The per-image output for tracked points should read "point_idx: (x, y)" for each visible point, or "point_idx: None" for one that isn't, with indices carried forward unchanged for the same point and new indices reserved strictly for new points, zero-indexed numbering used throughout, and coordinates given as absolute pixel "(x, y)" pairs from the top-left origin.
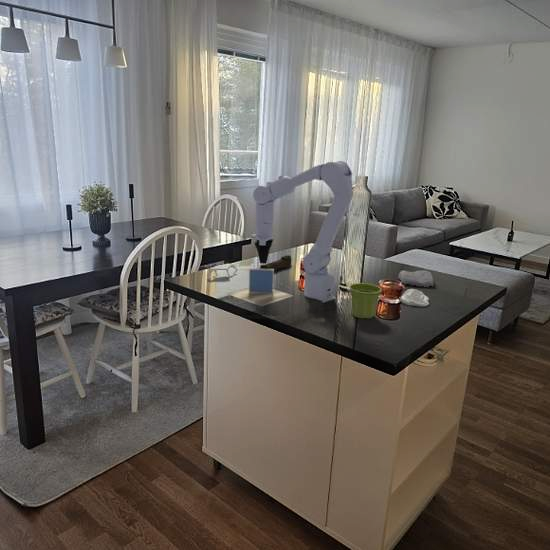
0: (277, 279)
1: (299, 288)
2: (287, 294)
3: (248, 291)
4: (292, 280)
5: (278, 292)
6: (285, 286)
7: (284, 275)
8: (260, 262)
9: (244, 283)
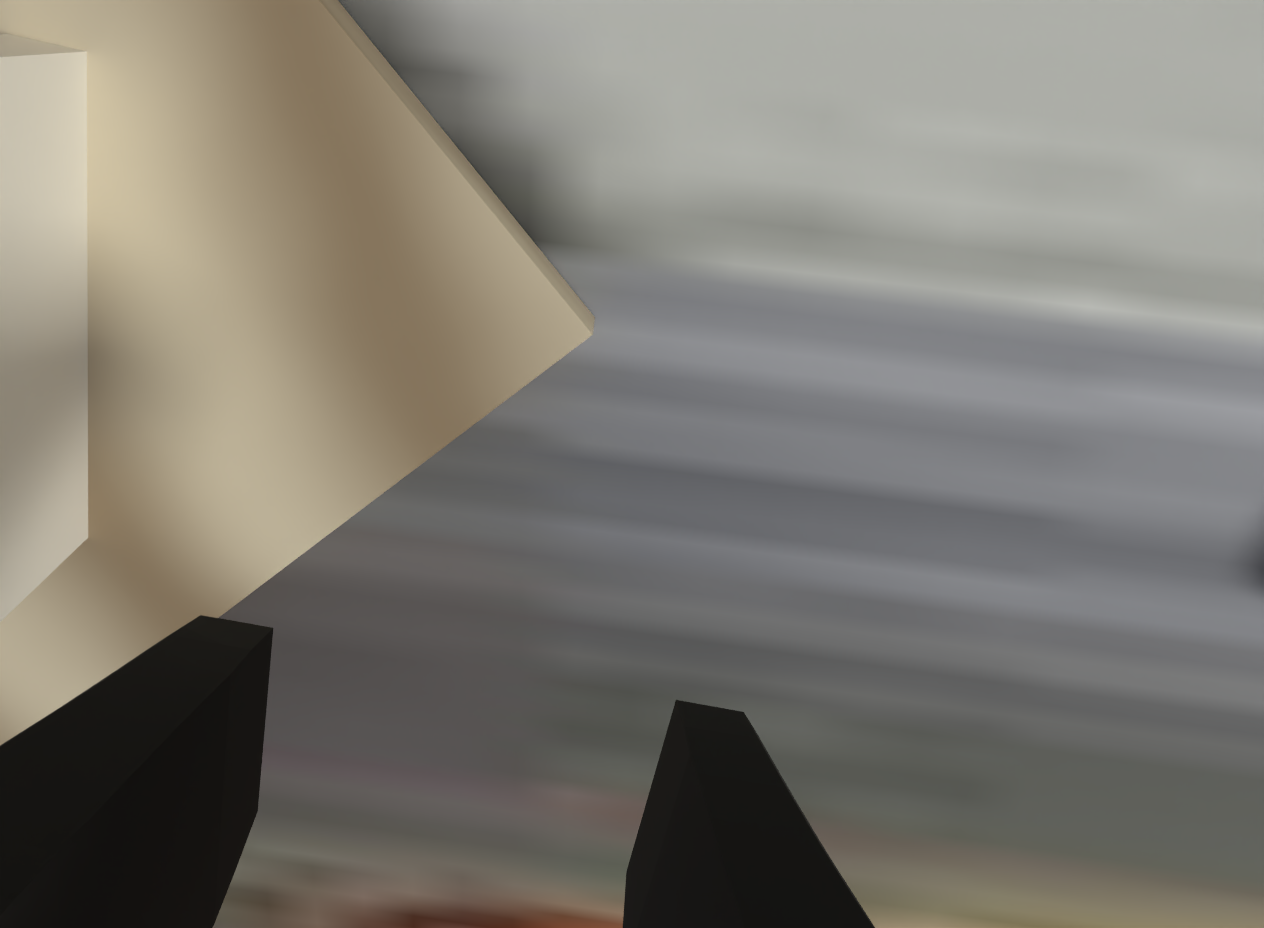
0: (1050, 705)
1: (511, 919)
2: (8, 736)
3: (62, 32)
4: (939, 900)
5: (95, 620)
6: (625, 762)
7: (1255, 838)
8: (172, 646)
9: (915, 23)
